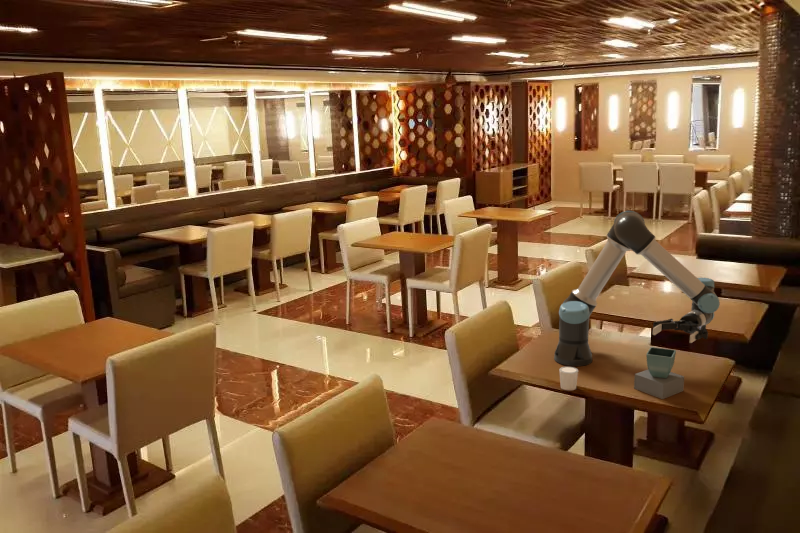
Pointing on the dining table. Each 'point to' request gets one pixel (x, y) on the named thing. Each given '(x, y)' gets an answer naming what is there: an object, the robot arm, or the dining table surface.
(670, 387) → the charcoal stand
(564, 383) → the shot glass
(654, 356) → the flower pot
